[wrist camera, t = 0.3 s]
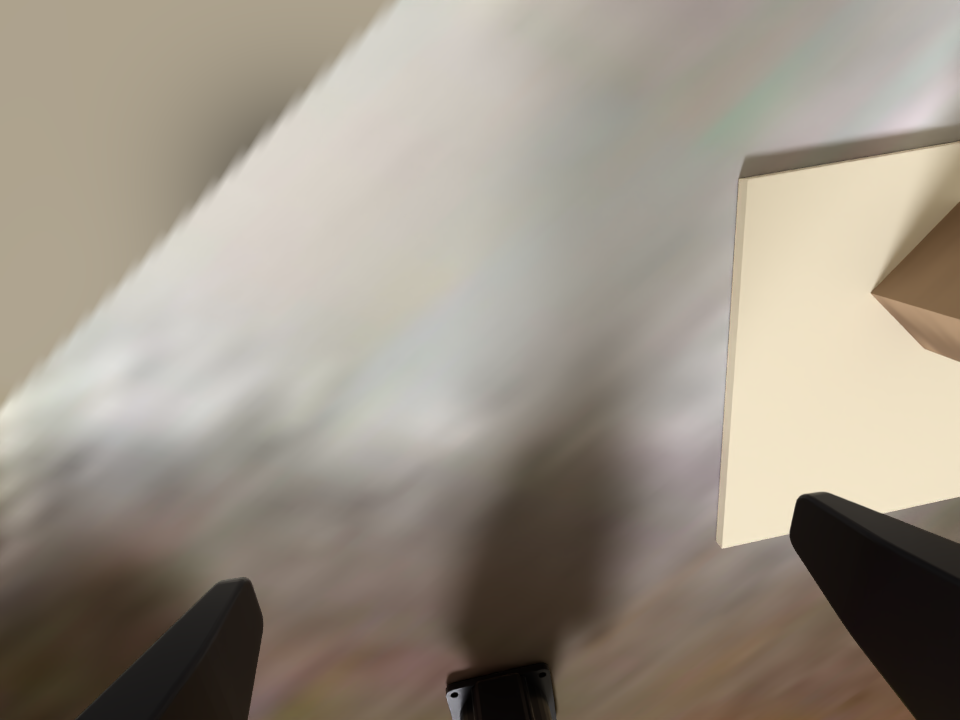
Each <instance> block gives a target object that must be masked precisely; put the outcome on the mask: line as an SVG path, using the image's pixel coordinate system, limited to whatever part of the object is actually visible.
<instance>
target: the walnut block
mask: <svg viewBox="0 0 960 720" xmlns="http://www.w3.org/2000/svg"><path fill="white" fill-rule="evenodd" d="M871 294H872V295H873V296H874V297H875V298H876V299H877V301H878V302H879V303H880V304H881V305H882V306H883V307H884V308H885V309H886V310H887V311H888V312H889V313H890V314H891V315H892V316H893V317H894V318H895V319H896V320H897V321H898V322H899V323H900V324H901V325H902V326H903V327H904V328H905V329H906V331H907V332H908V333H909V334H910V335H911V336H912V337H913V338H914V339H915V340H916V341H917V342H918V343H919V344H920V345H921V346H922V347H923V348H924V349H926V350H929V351H931V352H934V353H937V354H939V355H942V356H945V357H947V358H950V359H953V360H955V361H958V362H960V202H959V203H958V204H957V205H956V206H955V207H954V208H953V209H952V210H951V211H950V212H949V213H948V214H947V215H946V216H945V217H944V218H943V219H942V220H941V221H940V222H939V223H938V224H937V225H936V226H935V227H934V228H933V229H932V230H931V231H930V232H929V233H928V234H927V235H926V236H925V237H924V239H923V240H922V241H921V242H920V243H919V244H918V245H917V246H916V247H915V248H914V249H913V250H912V251H911V252H910V253H909V254H908V255H907V256H906V257H905V258H904V259H903V260H902V261H901V262H900V263H899V264H898V265H897V266H896V267H895V268H894V269H893V270H892V271H891V272H890V273H889V274H888V275H887V277H886V278H885V279H884V280H883V281H882V282H881V283H880V284H879V285H878V286H877V287H876V288H875V289H874V290H873V291H872V292H871Z"/></svg>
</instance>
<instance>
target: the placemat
mask: <svg viewBox="0 0 960 720" xmlns="http://www.w3.org/2000/svg"><path fill="white" fill-rule="evenodd" d="M959 202H960V141H958V142H952V143H946V144H940V145H934V146H928V147H922V148H917V149H911V150H905V151H899V152H893V153H887V154H882V155H876V156H870V157H864V158H858V159H852V160H846V161H841V162H835V163H829V164H823V165H817V166H811V167H806V168H800V169H794V170H788V171H782V172H776V173H770V174H765V175H759V176H753V177H747V178H741V179H739V184H738V200H737V216H736V232H735V247H734V263H733V279H732V295H731V311H730V327H729V342H728V358H727V374H726V390H725V406H724V422H723V438H722V453H721V469H720V485H719V501H718V517H717V533H716V542H717V543H718V544H719V545H720V547H721V548H727V547H731V546H736V545H741V544H745V543H750V542H754V541H759V540H763V539H768V538H773V537H777V536H782V535H786V534H789V531H790V526H791V522H792V517H793V513H794V508H795V504H796V500H797V499H798V497H799V496H800V495H802V494H807V493H814V492H828V493H831V494H834V495H836V496H839V497H841V498H844V499H847V500H849V501H852V502H854V503H857V504H859V505H862V506H864V507H867V508H870V509H872V510H875V511H877V512H880V513H887V512H891V511H896V510H900V509H905V508H909V507H914V506H918V505H923V504H928V503H932V502H937V501H941V500H946V499H950V498H955V497H960V362H958V361H955V360H953V359H950V358H947V357H945V356H942V355H939V354H937V353H934V352H931V351H929V350H926V349H924V348H923V347H922V346H921V345H920V344H919V343H918V342H917V341H916V340H915V339H914V338H913V337H912V336H911V335H910V334H909V333H908V332H907V331H906V329H905V328H904V327H903V326H902V325H901V324H900V323H899V322H898V321H897V320H896V319H895V318H894V317H893V316H892V315H891V314H890V313H889V312H888V311H887V310H886V309H885V308H884V307H883V306H882V305H881V304H880V303H879V302H878V301H877V299H876V298H875V297H874V296H873V295H872V294H871V292H872V291H873V290H874V289H875V288H876V287H877V286H878V285H879V284H880V283H881V282H882V281H883V280H884V279H885V278H886V277H887V275H888V274H889V273H890V272H891V271H892V270H893V269H894V268H895V267H896V266H897V265H898V264H899V263H900V262H901V261H902V260H903V259H904V258H905V257H906V256H907V255H908V254H909V253H910V252H911V251H912V250H913V249H914V248H915V247H916V246H917V245H918V244H919V243H920V242H921V241H922V240H923V239H924V237H925V236H926V235H927V234H928V233H929V232H930V231H931V230H932V229H933V228H934V227H935V226H936V225H937V224H938V223H939V222H940V221H941V220H942V219H943V218H944V217H945V216H946V215H947V214H948V213H949V212H950V211H951V210H952V209H953V208H954V207H955V206H956V205H957V204H958V203H959Z"/></svg>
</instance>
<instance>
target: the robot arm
mask: <svg viewBox="0 0 960 720" xmlns="http://www.w3.org/2000/svg"><path fill="white" fill-rule="evenodd" d="M789 535H790V540H791V543H792V545H793V547H794V549H795V551H796V552H797V554H798V555H799V557H800V558H801V560H802V561H803V563H804V565H805V566H806V568H807V569H808V571H809V572H810V574H811V575H812V577H813V578H814V580H815V581H816V583H817V584H818V586H819V588H820V589H821V591H822V592H823V594H824V595H825V597H826V598H827V600H828V601H829V603H830V604H831V606H832V608H833V609H834V611H835V612H836V614H837V615H838V617H839V618H840V620H841V621H842V623H843V624H844V626H845V627H846V629H847V630H848V631H849V633H850V634H851V636H852V637H853V638H854V640H855V641H856V642H857V644H858V645H859V646H860V648H861V649H862V651H863V652H864V653H865V654H866V656H867V657H868V658H869V660H870V661H871V662H872V663H873V665H874V666H875V667H876V669H877V670H878V671H879V672H880V674H881V675H882V676H883V678H884V679H885V680H886V681H887V683H888V684H889V685H890V687H891V688H892V689H893V690H894V692H895V693H896V694H897V696H898V697H899V698H900V699H901V701H902V702H903V703H904V705H905V706H906V707H907V708H908V710H909V711H910V712H911V714H912V715H913V716H914V718H915V719H916V720H960V544H959V543H956V542H954V541H951V540H949V539H946V538H943V537H941V536H938V535H936V534H933V533H931V532H928V531H926V530H923V529H921V528H918V527H915V526H913V525H910V524H908V523H905V522H903V521H900V520H898V519H895V518H892V517H890V516H887V515H885V514H882V513H880V512H877V511H875V510H872V509H870V508H867V507H864V506H862V505H859V504H857V503H854V502H852V501H849V500H847V499H844V498H841V497H839V496H836V495H834V494H831V493H828V492H814V493H807V494H802V495H800V496H799V497H798V499H797V500H796V504H795V508H794V513H793V517H792V522H791V526H790V531H789ZM262 633H263V616H262V612H261V609H260V606H259V603H258V600H257V597H256V594H255V591H254V588H253V585H252V583H251V581H250V580H249V579H248V578H246V577H241V578H234V579H227V580H222V581H220V582H218V583H217V584H215V585H214V586H213V587H212V588H211V589H210V590H209V591H208V592H207V593H206V594H205V595H204V596H203V597H202V598H201V599H200V600H199V601H197V602H196V603H195V604H194V605H193V606H192V607H191V608H190V609H189V610H188V611H187V612H186V613H185V614H184V615H183V616H182V617H181V618H180V619H179V620H178V621H177V622H176V623H175V624H174V625H173V626H172V627H170V628H169V629H168V630H167V631H166V632H165V633H164V634H163V635H162V636H161V637H160V638H159V639H158V640H157V641H156V642H155V643H154V644H153V645H152V646H151V647H150V648H149V649H148V650H147V651H146V652H145V653H143V654H142V655H141V656H140V657H139V658H138V659H137V660H136V661H135V662H134V663H133V664H132V665H131V666H130V667H129V668H128V669H127V670H126V671H125V672H124V673H123V674H122V675H121V676H120V677H119V678H118V679H116V680H115V681H114V682H113V683H112V684H111V685H110V686H109V687H108V688H107V689H106V690H105V691H104V692H103V693H102V694H101V695H100V696H99V697H98V698H97V699H96V700H95V701H94V702H93V703H92V704H91V705H89V706H88V707H87V708H86V709H85V710H84V711H83V712H82V713H81V714H80V715H79V716H78V717H77V718H76V719H75V720H248V715H249V709H250V703H251V697H252V691H253V686H254V680H255V674H256V668H257V662H258V656H259V651H260V645H261V639H262ZM446 697H447V701H448V705H449V708H450V712H451V715H452V719H453V720H556V712H555V705H554V698H553V690H552V683H551V676H550V671H549V667H548V665H547V664H545V663H539V664H535V665H531V666H526V667H522V668H518V669H513V670H509V671H504V672H500V673H496V674H491V675H487V676H483V677H478V678H474V679H469V680H465V681H461V682H456V683H452V684H450V685H448V686H447V688H446Z"/></svg>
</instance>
